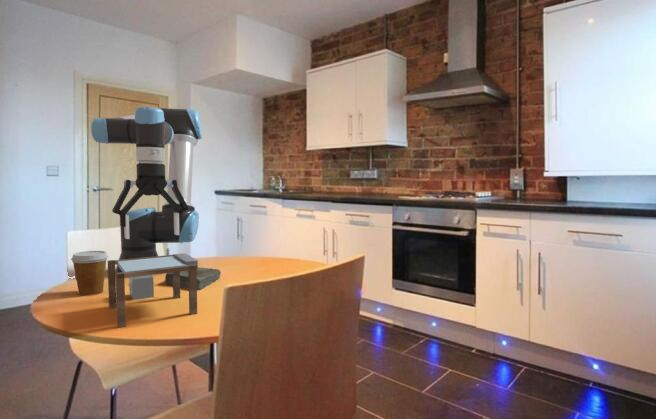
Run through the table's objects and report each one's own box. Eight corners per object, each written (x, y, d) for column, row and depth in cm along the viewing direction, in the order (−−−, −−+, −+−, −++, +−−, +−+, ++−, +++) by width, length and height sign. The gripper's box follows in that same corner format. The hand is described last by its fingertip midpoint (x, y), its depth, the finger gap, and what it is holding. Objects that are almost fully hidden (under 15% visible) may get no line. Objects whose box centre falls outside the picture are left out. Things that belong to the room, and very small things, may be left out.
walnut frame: (109, 306, 108) (107, 260, 107) (178, 296, 118) (178, 253, 118) (118, 327, 93) (116, 274, 92) (197, 313, 104) (196, 265, 103)
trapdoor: (117, 267, 107) (117, 258, 107) (183, 260, 117) (183, 252, 117) (125, 279, 95) (125, 269, 95) (199, 270, 105) (199, 261, 104)
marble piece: (200, 291, 125) (199, 278, 125) (157, 288, 128) (157, 275, 127) (224, 278, 141) (224, 266, 141) (186, 276, 144) (186, 264, 144)
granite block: (129, 295, 119) (129, 275, 118) (150, 292, 122) (149, 273, 122) (132, 300, 114) (132, 279, 114) (153, 297, 117) (153, 277, 117)
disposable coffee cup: (76, 290, 124) (74, 251, 123) (111, 287, 127) (109, 249, 127) (69, 298, 115) (67, 257, 114) (106, 295, 119) (105, 255, 118)
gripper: (103, 161, 105) (106, 242, 106) (198, 163, 119) (199, 234, 121) (99, 161, 111) (102, 238, 112) (190, 164, 125) (191, 231, 127)
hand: (152, 236), depth 117 cm, fingers open, 13 cm apart
